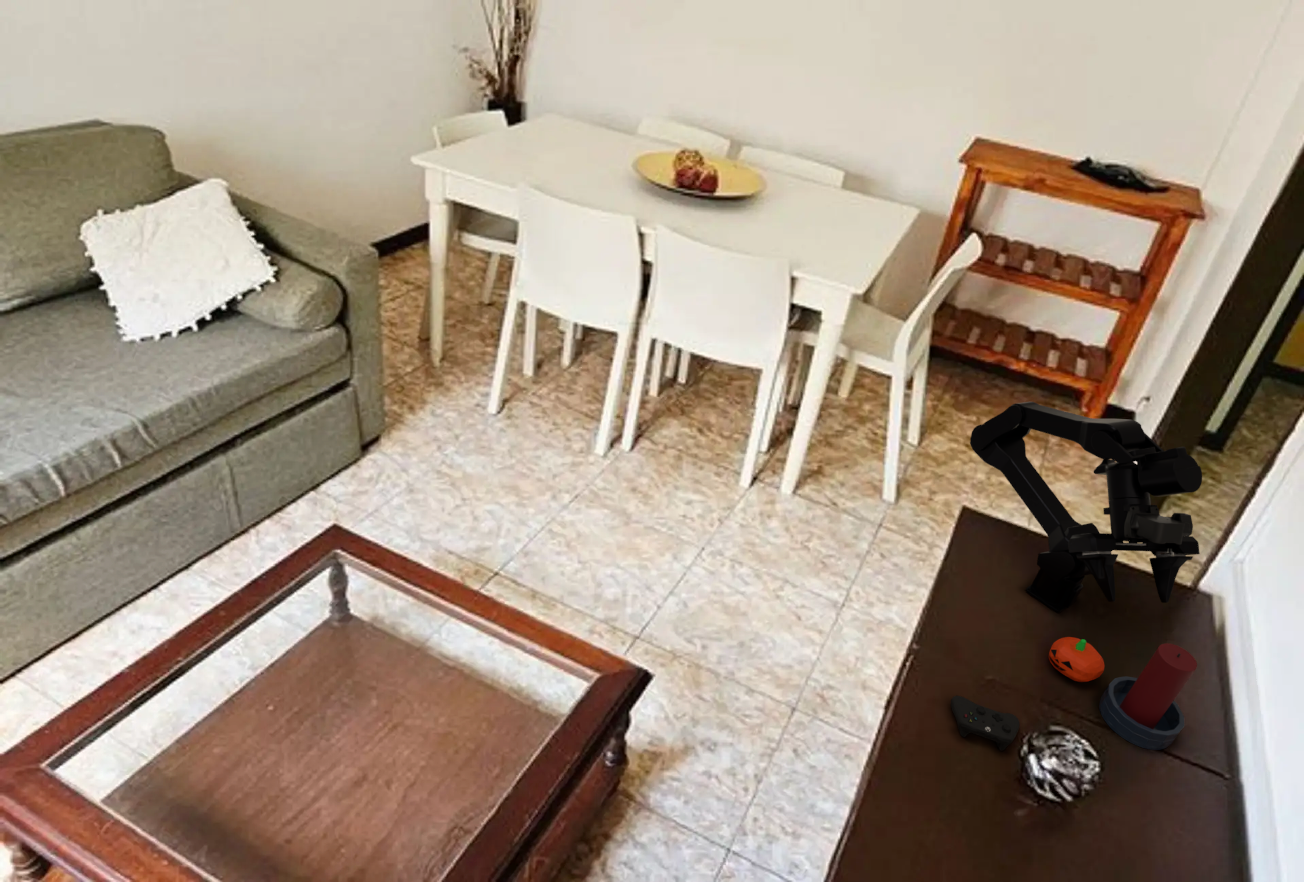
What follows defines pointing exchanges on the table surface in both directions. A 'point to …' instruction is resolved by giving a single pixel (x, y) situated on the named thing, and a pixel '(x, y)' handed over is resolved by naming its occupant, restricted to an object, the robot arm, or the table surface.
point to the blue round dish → (1133, 730)
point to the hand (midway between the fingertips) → (1138, 602)
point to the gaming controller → (984, 722)
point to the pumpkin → (1076, 659)
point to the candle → (1159, 684)
